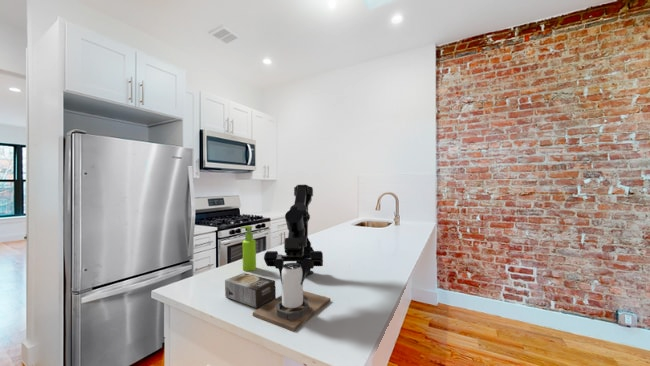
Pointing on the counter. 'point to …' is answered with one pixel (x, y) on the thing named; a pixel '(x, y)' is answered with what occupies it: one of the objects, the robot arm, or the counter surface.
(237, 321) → the counter surface
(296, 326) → the carrier board
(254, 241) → the soap dispenser
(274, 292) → the coffee box
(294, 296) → the can
